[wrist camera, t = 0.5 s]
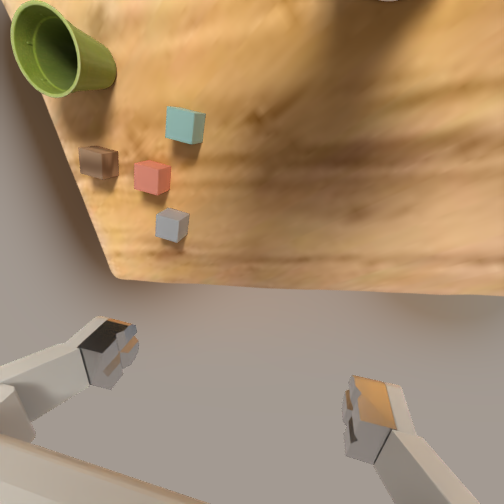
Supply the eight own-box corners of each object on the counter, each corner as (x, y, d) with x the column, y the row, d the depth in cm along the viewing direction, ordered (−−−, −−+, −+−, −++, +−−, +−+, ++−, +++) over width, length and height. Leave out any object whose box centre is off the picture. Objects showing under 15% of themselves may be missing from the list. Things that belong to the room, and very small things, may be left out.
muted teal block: (180, 107, 50) (167, 106, 46) (205, 113, 49) (194, 113, 45) (178, 136, 52) (165, 137, 48) (202, 142, 52) (191, 144, 47)
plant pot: (121, 23, 46) (67, -4, 36) (133, 102, 51) (88, 98, 41) (63, 26, 48) (-3, 1, 39) (80, 102, 54) (25, 97, 44)
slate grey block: (168, 207, 59) (156, 214, 55) (189, 213, 59) (179, 221, 54) (167, 228, 62) (155, 236, 57) (187, 234, 61) (177, 242, 57)
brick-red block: (149, 160, 56) (134, 163, 51) (171, 166, 55) (158, 169, 51) (148, 183, 58) (134, 188, 54) (169, 189, 57) (157, 195, 53)
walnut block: (97, 145, 57) (78, 147, 52) (118, 151, 56) (101, 154, 52) (98, 169, 59) (80, 173, 55) (118, 175, 59) (102, 179, 54)
